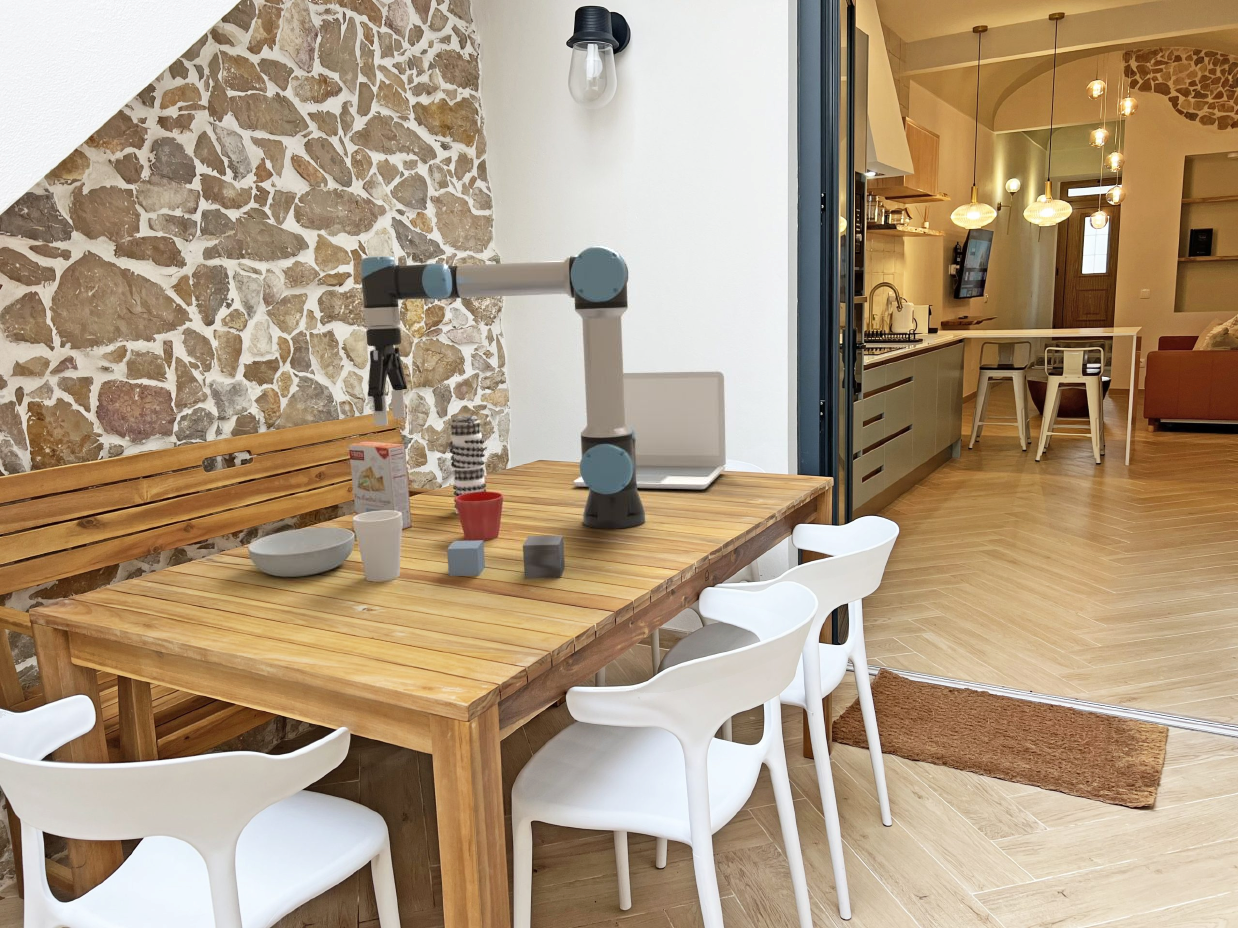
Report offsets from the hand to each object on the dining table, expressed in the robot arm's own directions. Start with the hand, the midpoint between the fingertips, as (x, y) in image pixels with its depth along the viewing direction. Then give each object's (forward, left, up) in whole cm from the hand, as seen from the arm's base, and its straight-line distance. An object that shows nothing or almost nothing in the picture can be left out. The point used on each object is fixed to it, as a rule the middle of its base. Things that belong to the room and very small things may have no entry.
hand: (390, 421), depth 209 cm
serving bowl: (+13, +25, -28) cm, 39 cm away
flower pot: (-19, 0, -28) cm, 34 cm away
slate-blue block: (-22, +29, -28) cm, 46 cm away
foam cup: (-6, +32, -28) cm, 43 cm away
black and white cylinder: (-11, -28, -28) cm, 41 cm away
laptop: (-57, -67, -28) cm, 92 cm away
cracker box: (+8, -12, -28) cm, 31 cm away
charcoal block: (-38, +31, -28) cm, 56 cm away
